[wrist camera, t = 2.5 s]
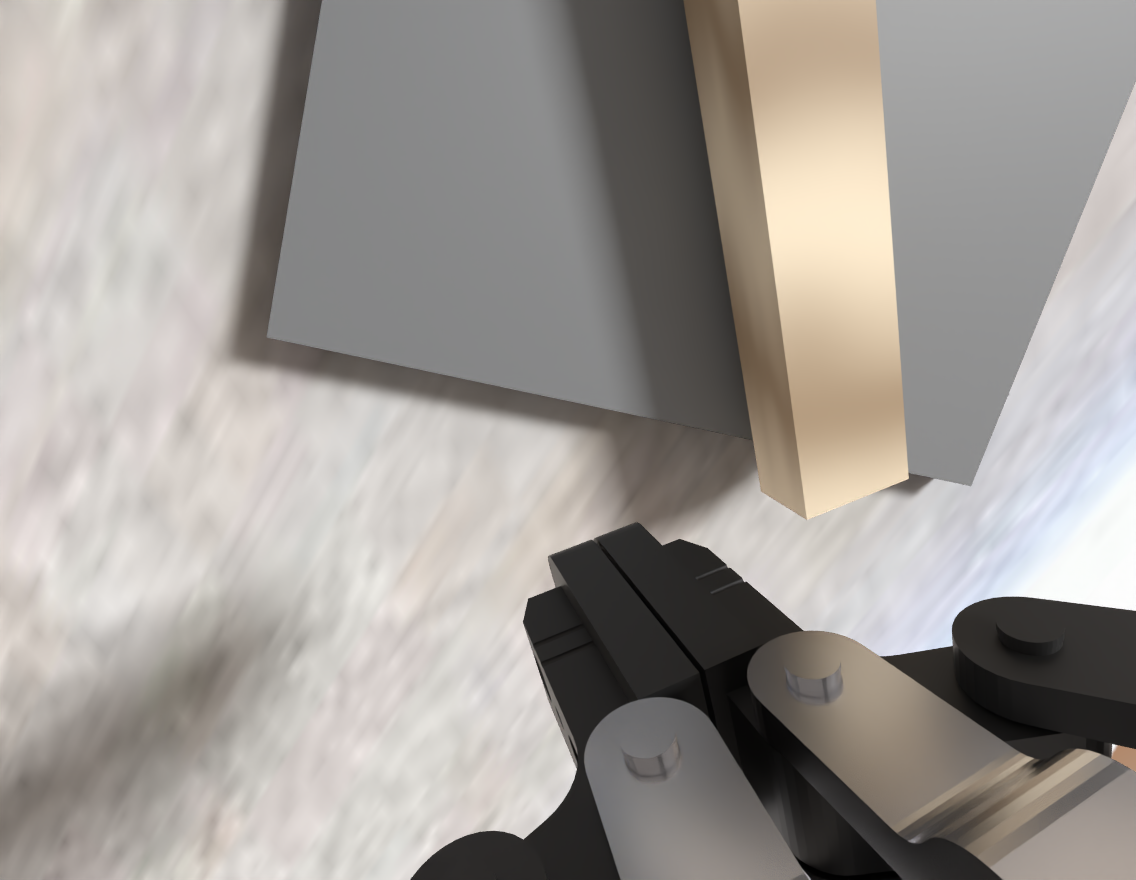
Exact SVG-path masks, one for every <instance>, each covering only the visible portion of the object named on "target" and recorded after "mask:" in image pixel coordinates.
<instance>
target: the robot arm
mask: <svg viewBox="0 0 1136 880" xmlns="http://www.w3.org/2000/svg"><path fill="white" fill-rule="evenodd" d="M548 561H549V566H550V570H551V573H552V577H553V580H554V583H555V587H556V588H554V589H552V590H549V591H547V592H544V593H542V594H539V595H537V596H534V597H532V598H529V599H528V602H527V607H526V611H525V616H524V620H523V624H524V627H525V630H526V633H527V636H528V639H529V642H530V645H531V648H532V651H533V654H534V657H535V660H536V663H537V667H538V670H539V673H540V676H541V679H542V682H543V685H544V688H545V691H546V694H547V697H548V700H549V703H550V705H551V708H552V710H553V713H554V715H555V717H556V720H557V722H558V725H559V727H560V729H561V732H562V734H563V737H564V739H565V742H566V744H567V746H568V748H569V751H570V753H571V756H572V758H573V761H574V763H575V766H576V768H577V771H576V775H575V779H574V781H573V784H572V786H571V789H570V791H569V792H568V794H567V796H566V797H565V799H564V801H563V802H562V803H561V804H560V806H559V807H558V808H557V809H556V811H555V812H554V813H553V814H552V815H551V816H550V817H549V818H548V819H547V820H546V821H544V822H543V823H542V824H541V825H540V826H539V827H538V828H536V829H535V830H534V831H533V832H532V833H531V834H529V835H528V836H527V837H526V838H525V839H524V840H523V839H521V838H519V837H517V836H516V835H513V834H510V833H506V832H500V831H485V832H478V833H474V834H470V835H467V836H464V837H462V838H460V839H457V840H455V841H453V842H451V843H450V844H448V845H446V846H445V847H443V848H442V849H440V850H439V851H438V852H436V853H435V854H434V855H432V856H431V857H430V858H429V859H428V860H427V861H426V862H425V863H424V864H423V865H422V866H421V867H420V868H419V870H418V871H417V872H416V873H415V874H414V876H413V877H412V878H411V880H1136V772H1135V771H1133V770H1131V769H1130V768H1128V767H1126V766H1124V765H1123V764H1121V763H1119V762H1117V761H1115V760H1113V759H1111V756H1112V744H1115V745H1120V746H1124V747H1129V748H1134V749H1136V611H1132V610H1124V609H1116V608H1108V607H1100V606H1092V605H1085V604H1077V603H1069V602H1061V601H1053V600H1045V599H1037V598H1028V597H999V598H992V599H987V600H983V601H980V602H977V603H974V604H972V605H970V606H968V607H966V608H965V609H964V610H962V611H961V612H960V613H959V614H958V615H957V617H956V618H955V620H954V622H953V625H952V640H953V646H950V647H944V648H938V649H932V650H926V651H920V652H914V653H907V654H901V655H894V656H878V655H877V654H875V653H874V652H872V651H871V650H869V649H868V648H866V647H865V646H863V645H862V644H860V643H858V642H857V641H855V640H853V639H850V638H848V637H845V636H842V635H839V634H835V633H830V632H824V631H803V630H802V629H801V628H800V627H799V626H797V625H796V624H795V623H794V622H793V621H792V620H790V619H789V618H788V617H787V616H786V615H785V614H783V613H782V612H781V611H780V610H779V609H778V608H776V607H775V606H774V605H773V604H772V603H771V602H769V601H768V600H767V599H766V598H765V597H764V596H763V595H761V594H760V593H759V592H758V591H757V590H756V589H754V588H753V587H752V586H751V585H750V584H749V583H747V582H744V581H743V579H742V577H740V576H739V575H738V574H737V573H736V572H735V571H733V570H732V569H731V568H728V567H727V565H726V564H725V563H724V562H723V561H722V560H721V559H719V558H718V557H717V556H716V555H715V554H714V553H712V552H711V551H710V550H709V549H708V548H705V547H702V546H699V545H696V544H693V543H690V542H687V541H684V540H681V539H678V540H676V541H673V542H671V543H668V544H666V545H663V546H662V545H661V544H660V543H659V542H658V541H657V540H656V539H655V538H654V537H653V536H652V535H651V534H650V533H649V532H648V531H647V530H646V529H645V528H644V527H643V526H642V525H641V524H640V523H638V522H636V523H633V524H630V525H628V526H625V527H623V528H620V529H617V530H615V531H612V532H609V533H607V534H604V535H602V536H599V537H596V538H594V541H593V540H589V541H586V542H584V543H581V544H579V545H576V546H573V547H571V548H568V549H566V550H563V551H560V552H558V553H555V554H552V555H550V556H548Z"/></svg>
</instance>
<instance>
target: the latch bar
mask: <svg viewBox="0 0 1136 880" xmlns="http://www.w3.org/2000/svg"><path fill="white" fill-rule="evenodd" d="M683 1H684V7H685V14H686V20H687V26H688V33H689V39H690V45H691V52H692V58H693V64H694V71H695V77H696V83H697V90H698V96H699V102H700V108H701V115H702V121H703V127H704V134H705V140H706V146H707V153H708V159H709V165H710V172H711V178H712V184H713V191H714V197H715V203H716V210H717V216H718V222H719V228H720V235H721V241H722V247H723V254H724V260H725V266H726V273H727V279H728V285H729V292H730V298H731V304H732V311H733V317H734V323H735V329H736V336H737V342H738V348H739V355H740V361H741V367H742V374H743V380H744V386H745V393H746V399H747V405H748V412H749V418H750V424H751V431H752V437H753V443H754V449H755V456H756V462H757V468H758V475H759V481H760V487H761V492H763V493H765V494H766V495H768V496H769V497H771V498H773V499H774V500H776V501H777V502H779V503H781V504H782V505H784V506H785V507H787V508H789V509H790V510H792V511H793V512H795V513H797V514H798V515H800V516H802V517H803V518H805V519H806V520H808V519H810V518H813V517H815V516H818V515H820V514H823V513H825V512H828V511H830V510H833V509H835V508H838V507H840V506H843V505H845V504H848V503H850V502H853V501H855V500H857V499H860V498H862V497H865V496H867V495H870V494H872V493H875V492H877V491H880V490H882V489H885V488H887V487H890V486H892V485H895V484H897V483H900V482H902V481H905V480H907V479H909V476H908V461H907V447H906V432H905V418H904V403H903V389H902V374H901V360H900V345H899V331H898V316H897V302H896V287H895V273H894V258H893V244H892V229H891V215H890V200H889V186H888V171H887V157H886V142H885V128H884V113H883V99H882V84H881V70H880V55H879V41H878V26H877V12H876V0H683Z"/></svg>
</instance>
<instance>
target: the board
mask: <svg viewBox="0 0 1136 880" xmlns="http://www.w3.org/2000/svg"><path fill="white" fill-rule="evenodd" d="M876 12H877V26H878V41H879V55H880V70H881V84H882V99H883V113H884V128H885V142H886V157H887V171H888V186H889V200H890V215H891V229H892V244H893V258H894V273H895V287H896V302H897V316H898V331H899V345H900V360H901V374H902V389H903V403H904V418H905V432H906V447H907V461H908V473H911V474H916V475H921V476H926V477H930V478H935V479H940V480H944V481H949V482H954V483H959V484H963V485H968V486H971V485H972V482H973V480H974V477H975V475H976V472H977V470H978V468H979V465H980V463H981V460H982V458H983V455H984V453H985V450H986V448H987V445H988V443H989V441H990V438H991V436H992V433H993V431H994V428H995V426H996V423H997V421H998V418H999V416H1000V414H1001V411H1002V409H1003V406H1004V404H1005V401H1006V399H1007V396H1008V394H1009V391H1010V389H1011V387H1012V384H1013V382H1014V379H1015V377H1016V374H1017V372H1018V369H1019V367H1020V364H1021V362H1022V360H1023V357H1024V355H1025V352H1026V350H1027V347H1028V345H1029V342H1030V340H1031V337H1032V335H1033V333H1034V330H1035V328H1036V325H1037V323H1038V320H1039V318H1040V315H1041V313H1042V310H1043V308H1044V306H1045V303H1046V301H1047V298H1048V296H1049V293H1050V291H1051V288H1052V286H1053V283H1054V281H1055V278H1056V276H1057V274H1058V271H1059V269H1060V266H1061V264H1062V261H1063V259H1064V256H1065V254H1066V251H1067V249H1068V247H1069V244H1070V242H1071V239H1072V237H1073V234H1074V232H1075V229H1076V227H1077V224H1078V222H1079V220H1080V217H1081V215H1082V212H1083V210H1084V207H1085V205H1086V202H1087V200H1088V197H1089V195H1090V193H1091V190H1092V188H1093V185H1094V183H1095V180H1096V178H1097V175H1098V173H1099V170H1100V168H1101V166H1102V163H1103V161H1104V158H1105V156H1106V153H1107V151H1108V148H1109V146H1110V143H1111V141H1112V139H1113V136H1114V134H1115V131H1116V129H1117V126H1118V124H1119V121H1120V119H1121V116H1122V114H1123V112H1124V109H1125V107H1126V104H1127V102H1128V99H1129V97H1130V94H1131V92H1132V89H1133V87H1134V85H1135V82H1136V0H876ZM267 338H272V339H277V340H281V341H286V342H291V343H296V344H300V345H305V346H310V347H315V348H319V349H324V350H329V351H333V352H338V353H343V354H348V355H352V356H357V357H362V358H367V359H371V360H376V361H381V362H386V363H390V364H395V365H400V366H405V367H409V368H414V369H419V370H423V371H428V372H433V373H438V374H442V375H447V376H452V377H457V378H461V379H466V380H471V381H476V382H480V383H485V384H490V385H495V386H499V387H504V388H509V389H513V390H518V391H523V392H528V393H532V394H537V395H542V396H547V397H551V398H556V399H561V400H566V401H570V402H575V403H580V404H585V405H589V406H594V407H599V408H603V409H608V410H613V411H618V412H622V413H627V414H632V415H637V416H641V417H646V418H651V419H656V420H660V421H665V422H670V423H674V424H679V425H684V426H689V427H693V428H698V429H703V430H708V431H712V432H717V433H722V434H727V435H731V436H736V437H741V438H746V439H750V440H753V437H752V431H751V424H750V418H749V412H748V405H747V399H746V393H745V386H744V380H743V374H742V367H741V361H740V355H739V348H738V342H737V336H736V329H735V323H734V317H733V311H732V304H731V298H730V292H729V285H728V279H727V273H726V266H725V260H724V254H723V247H722V241H721V235H720V228H719V222H718V216H717V210H716V203H715V197H714V191H713V184H712V178H711V172H710V165H709V159H708V153H707V146H706V140H705V134H704V127H703V121H702V115H701V108H700V102H699V96H698V90H697V83H696V77H695V71H694V64H693V58H692V52H691V45H690V39H689V33H688V26H687V20H686V14H685V7H684V1H683V0H322V3H321V9H320V15H319V22H318V28H317V34H316V40H315V46H314V52H313V58H312V64H311V70H310V76H309V82H308V88H307V94H306V101H305V107H304V113H303V119H302V125H301V131H300V137H299V143H298V149H297V155H296V161H295V167H294V173H293V179H292V186H291V192H290V198H289V204H288V210H287V216H286V222H285V228H284V234H283V240H282V246H281V252H280V258H279V265H278V271H277V277H276V283H275V289H274V295H273V301H272V307H271V313H270V319H269V325H268V331H267Z"/></svg>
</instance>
